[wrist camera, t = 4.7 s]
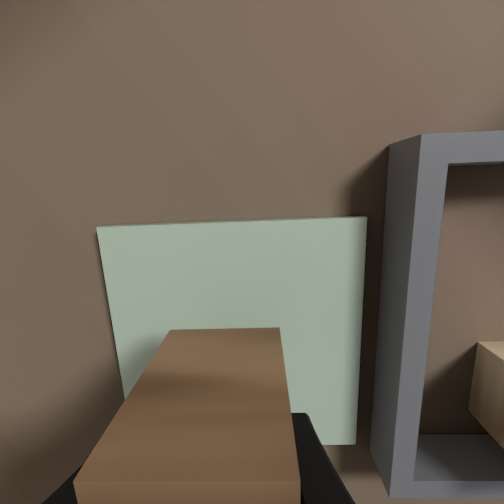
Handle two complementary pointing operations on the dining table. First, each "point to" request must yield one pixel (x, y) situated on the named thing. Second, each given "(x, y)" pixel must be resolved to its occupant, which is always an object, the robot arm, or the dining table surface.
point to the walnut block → (201, 426)
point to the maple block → (489, 389)
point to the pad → (248, 299)
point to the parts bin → (422, 327)
